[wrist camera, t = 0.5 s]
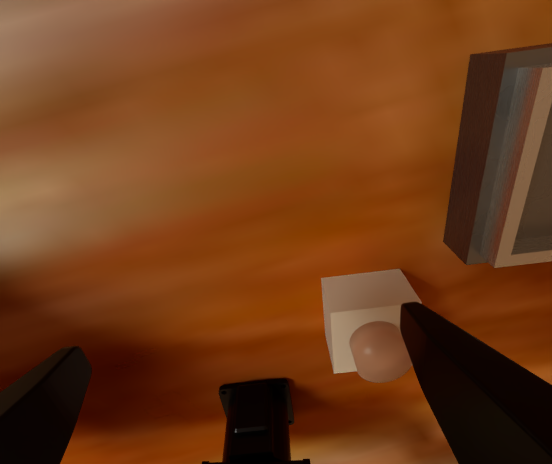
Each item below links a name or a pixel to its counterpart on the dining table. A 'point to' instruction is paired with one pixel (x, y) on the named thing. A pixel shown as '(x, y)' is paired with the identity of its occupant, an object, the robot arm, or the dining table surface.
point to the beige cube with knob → (367, 323)
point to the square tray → (504, 161)
